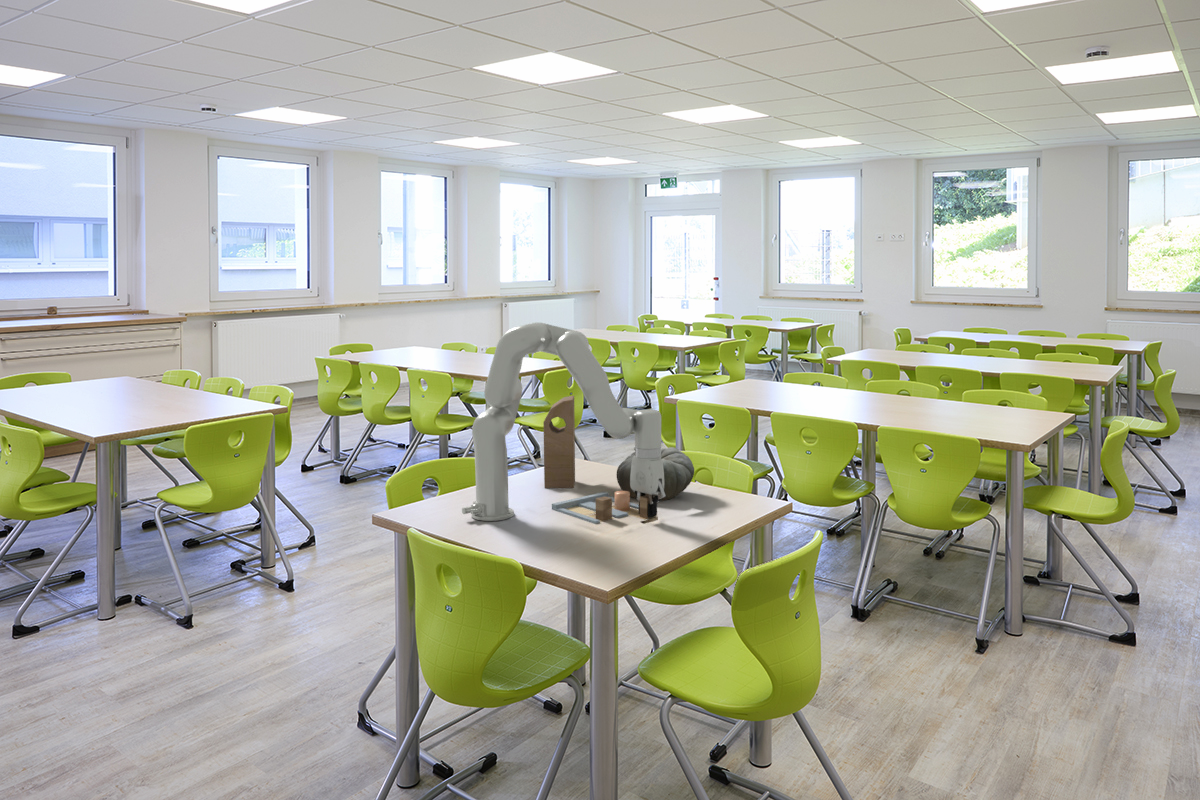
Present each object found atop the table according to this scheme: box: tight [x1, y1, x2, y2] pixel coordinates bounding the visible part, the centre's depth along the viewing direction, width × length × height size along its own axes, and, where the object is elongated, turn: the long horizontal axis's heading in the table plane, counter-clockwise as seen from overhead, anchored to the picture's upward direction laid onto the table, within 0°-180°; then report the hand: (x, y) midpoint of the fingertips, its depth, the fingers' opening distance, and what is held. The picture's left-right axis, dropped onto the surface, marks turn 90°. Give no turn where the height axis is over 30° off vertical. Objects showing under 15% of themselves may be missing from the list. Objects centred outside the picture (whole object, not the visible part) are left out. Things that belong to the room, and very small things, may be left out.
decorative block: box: [542, 395, 576, 489], centre depth 287 cm, size 10×10×30 cm
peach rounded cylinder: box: [614, 490, 631, 511], centre depth 254 cm, size 5×5×5 cm
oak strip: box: [612, 495, 659, 524], centre depth 251 cm, size 5×17×7 cm, turn 41°
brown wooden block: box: [587, 497, 614, 523], centre depth 245 cm, size 5×7×7 cm
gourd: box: [616, 446, 695, 501], centre depth 272 cm, size 25×25×17 cm
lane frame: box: [551, 491, 639, 525], centre depth 254 cm, size 21×20×3 cm
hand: (647, 514), depth 246 cm, fingers closed on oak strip, 3 cm apart
